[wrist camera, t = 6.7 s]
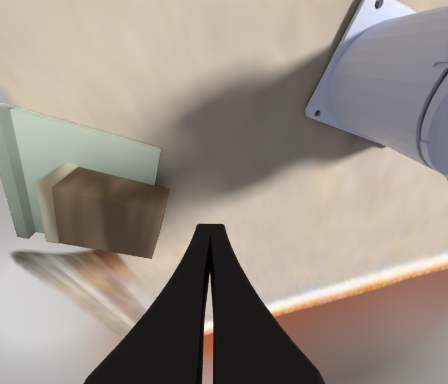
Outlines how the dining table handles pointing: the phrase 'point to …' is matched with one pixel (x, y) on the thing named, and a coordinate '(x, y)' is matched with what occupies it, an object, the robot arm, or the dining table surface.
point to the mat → (60, 158)
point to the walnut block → (101, 211)
